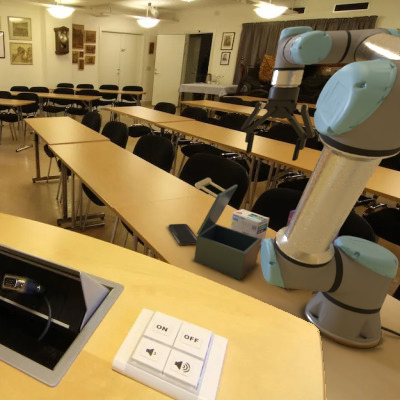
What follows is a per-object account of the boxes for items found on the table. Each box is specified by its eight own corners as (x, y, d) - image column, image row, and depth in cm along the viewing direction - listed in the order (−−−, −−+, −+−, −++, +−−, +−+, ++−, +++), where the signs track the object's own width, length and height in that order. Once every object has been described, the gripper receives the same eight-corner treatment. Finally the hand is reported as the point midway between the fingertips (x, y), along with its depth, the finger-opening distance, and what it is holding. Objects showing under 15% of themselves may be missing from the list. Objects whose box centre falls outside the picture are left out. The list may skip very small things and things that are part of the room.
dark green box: (256, 264, 107) (261, 238, 104) (240, 280, 100) (245, 253, 96) (211, 247, 118) (215, 223, 114) (194, 260, 110) (197, 235, 106)
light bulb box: (264, 243, 119) (270, 217, 115) (254, 249, 116) (259, 222, 112) (238, 232, 128) (242, 208, 124) (227, 237, 124) (232, 212, 120)
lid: (238, 185, 104) (212, 171, 109) (220, 195, 97) (193, 179, 102) (216, 223, 114) (193, 208, 119) (198, 235, 106) (175, 218, 111)
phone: (186, 223, 133) (200, 241, 120) (186, 226, 134) (199, 244, 120) (167, 224, 133) (179, 242, 119) (167, 226, 134) (179, 245, 120)
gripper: (340, 86, 88) (320, 160, 97) (246, 84, 105) (236, 148, 114) (333, 87, 84) (313, 165, 92) (236, 86, 101) (226, 151, 109)
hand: (270, 156), depth 103 cm, fingers open, 13 cm apart
